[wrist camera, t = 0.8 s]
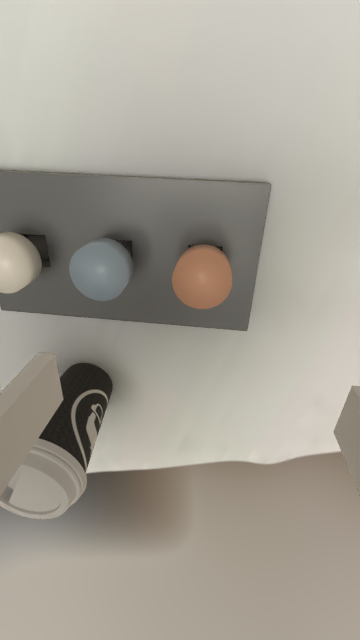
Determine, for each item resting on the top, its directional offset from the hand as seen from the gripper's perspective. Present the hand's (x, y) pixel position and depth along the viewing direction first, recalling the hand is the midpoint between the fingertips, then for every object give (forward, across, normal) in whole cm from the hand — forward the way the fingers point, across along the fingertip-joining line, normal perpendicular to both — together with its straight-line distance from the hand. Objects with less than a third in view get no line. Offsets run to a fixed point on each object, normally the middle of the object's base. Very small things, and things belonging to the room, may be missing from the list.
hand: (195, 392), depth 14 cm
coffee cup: (+19, -14, -17) cm, 30 cm away
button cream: (+16, -17, +1) cm, 24 cm away
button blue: (+16, -9, +1) cm, 19 cm away
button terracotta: (+16, 0, +1) cm, 16 cm away
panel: (+19, -9, +1) cm, 21 cm away
